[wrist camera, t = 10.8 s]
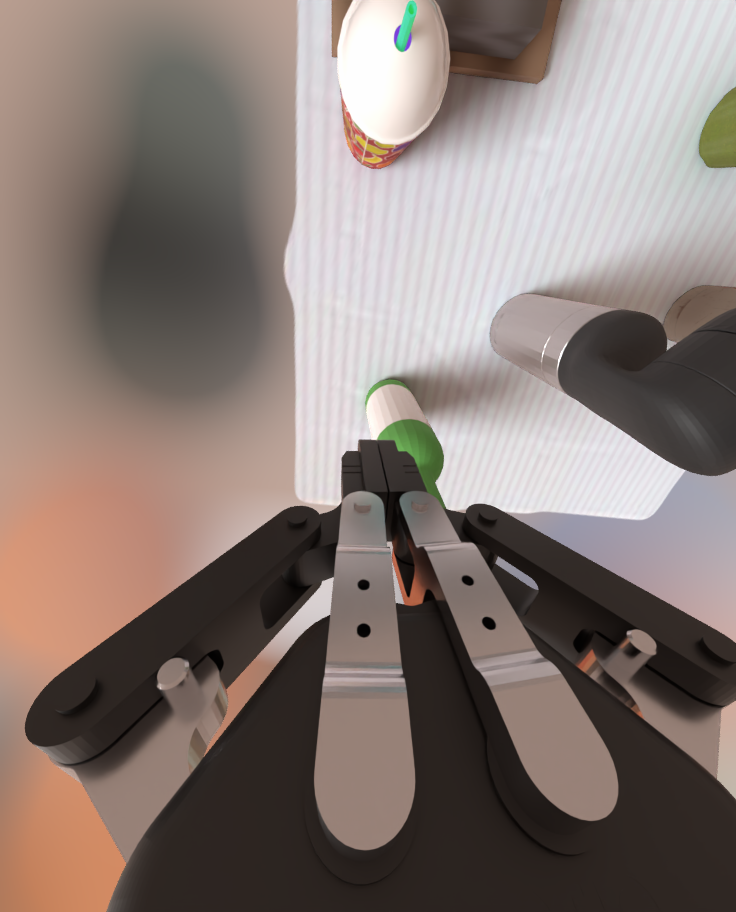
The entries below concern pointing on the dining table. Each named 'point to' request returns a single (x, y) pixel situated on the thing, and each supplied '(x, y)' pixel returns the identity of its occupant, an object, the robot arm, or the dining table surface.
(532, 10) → the button console
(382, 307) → the dining table surface
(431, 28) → the smoothie
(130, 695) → the robot arm
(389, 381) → the wine bottle
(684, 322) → the thermos bottle
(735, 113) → the plant pot
